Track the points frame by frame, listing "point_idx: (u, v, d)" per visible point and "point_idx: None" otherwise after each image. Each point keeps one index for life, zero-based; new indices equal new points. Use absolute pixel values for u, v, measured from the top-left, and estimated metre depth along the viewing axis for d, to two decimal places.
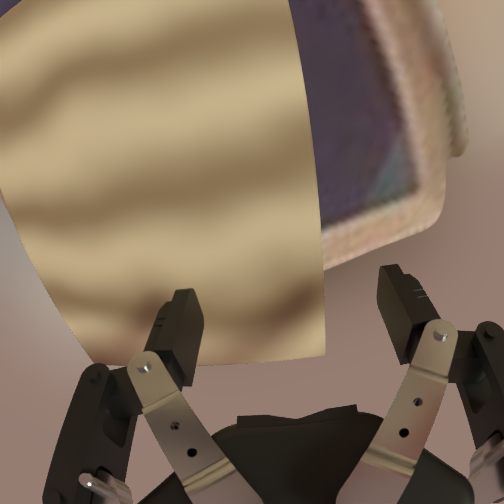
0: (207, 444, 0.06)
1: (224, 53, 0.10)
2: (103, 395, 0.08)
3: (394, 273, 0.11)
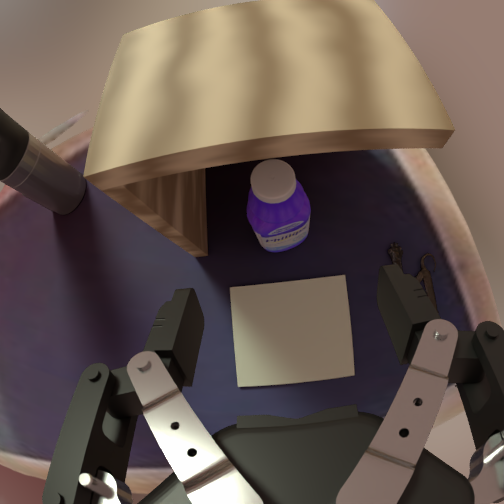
0: (207, 445, 0.06)
1: (194, 25, 0.21)
2: (104, 395, 0.08)
3: (394, 273, 0.11)
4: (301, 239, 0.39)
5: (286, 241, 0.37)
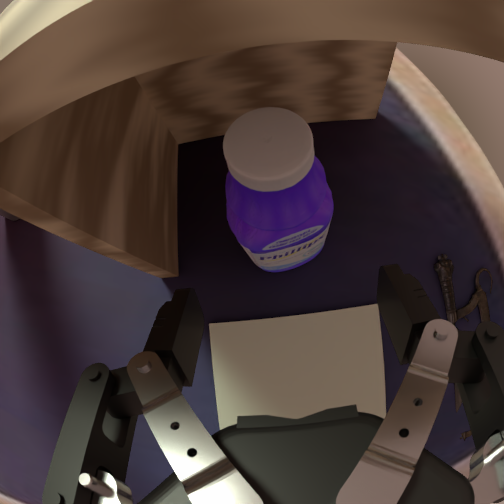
0: (207, 444, 0.06)
1: None
2: (103, 395, 0.08)
3: (394, 273, 0.11)
4: (315, 253, 0.26)
5: (293, 257, 0.23)
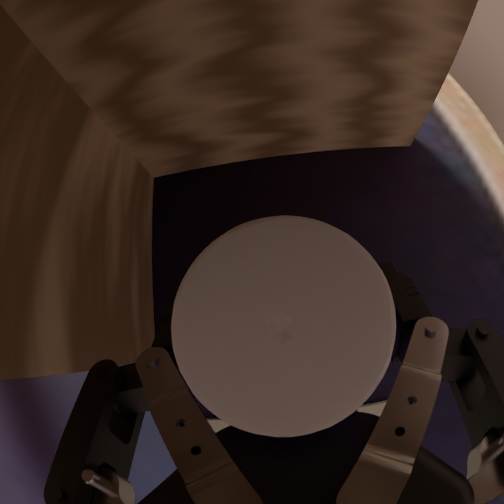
0: (211, 443, 0.06)
1: None
2: (111, 392, 0.08)
3: (386, 271, 0.11)
4: None
5: None
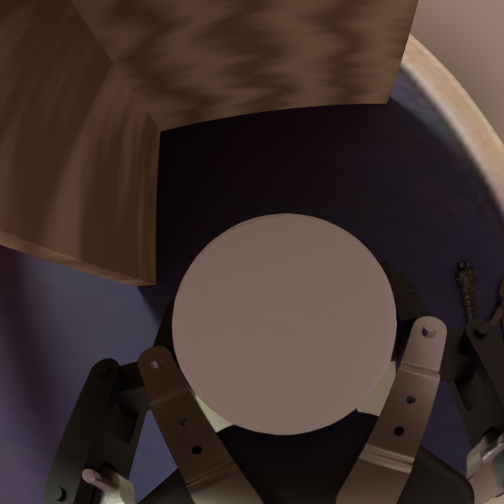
0: (212, 443, 0.06)
1: None
2: (112, 391, 0.08)
3: (384, 271, 0.11)
4: None
5: None
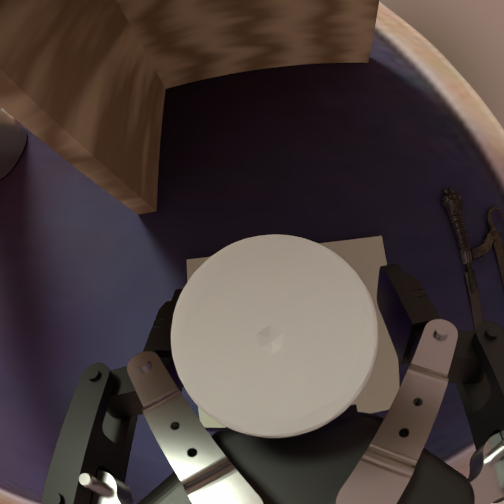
0: (207, 444, 0.06)
1: None
2: (104, 395, 0.08)
3: (394, 273, 0.11)
4: None
5: None
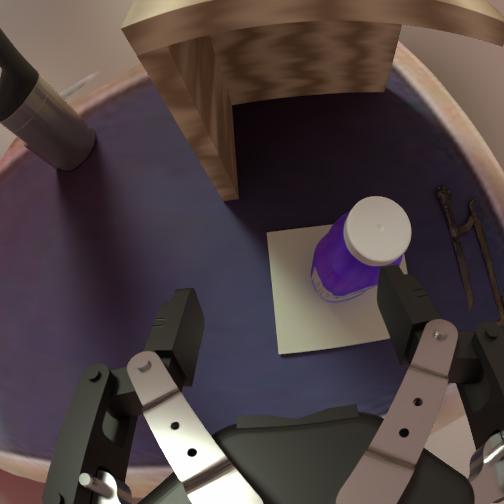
0: (207, 445, 0.06)
1: None
2: (103, 395, 0.08)
3: (394, 273, 0.11)
4: None
5: (357, 294, 0.27)
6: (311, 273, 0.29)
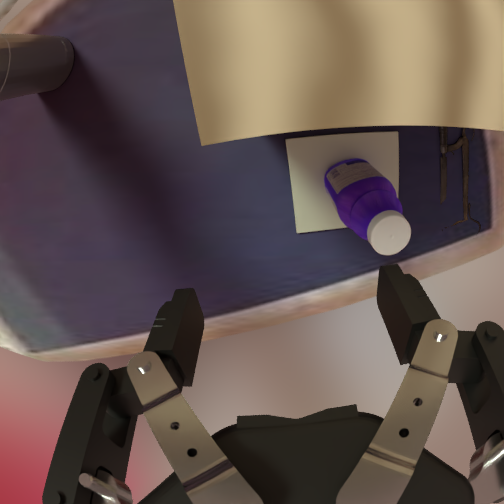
0: (207, 445, 0.06)
1: None
2: (104, 395, 0.08)
3: (394, 273, 0.11)
4: None
5: None
6: (327, 187, 0.36)
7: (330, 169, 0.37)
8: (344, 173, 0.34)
